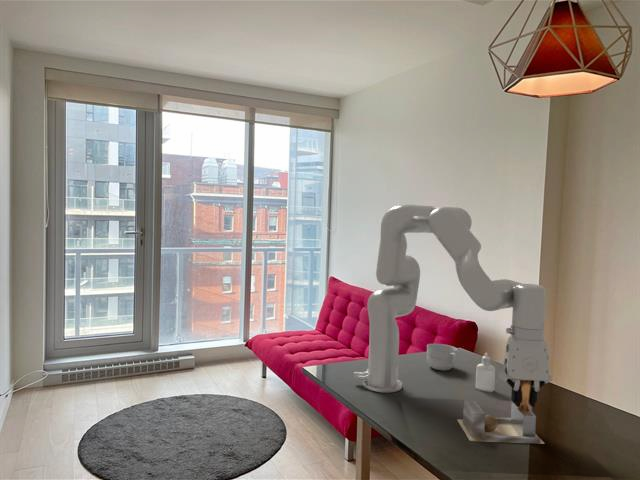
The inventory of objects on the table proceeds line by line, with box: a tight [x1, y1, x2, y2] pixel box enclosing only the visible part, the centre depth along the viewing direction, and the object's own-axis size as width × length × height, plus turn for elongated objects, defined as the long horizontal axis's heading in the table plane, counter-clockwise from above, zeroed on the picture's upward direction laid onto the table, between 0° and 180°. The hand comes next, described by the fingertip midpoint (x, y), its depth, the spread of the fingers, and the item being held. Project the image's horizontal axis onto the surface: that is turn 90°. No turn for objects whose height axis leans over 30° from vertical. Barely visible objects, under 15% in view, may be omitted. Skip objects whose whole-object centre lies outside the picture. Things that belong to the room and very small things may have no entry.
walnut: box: [484, 414, 498, 431], centre depth 123 cm, size 4×4×4 cm
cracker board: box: [456, 400, 545, 445], centre depth 122 cm, size 18×12×8 cm, turn 89°
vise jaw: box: [510, 380, 537, 437], centre depth 122 cm, size 3×8×14 cm, turn 179°
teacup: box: [426, 343, 459, 371], centre depth 174 cm, size 14×11×8 cm
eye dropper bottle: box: [475, 352, 496, 393], centre depth 155 cm, size 4×6×12 cm
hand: (523, 404), depth 122 cm, fingers closed on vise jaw, 3 cm apart
